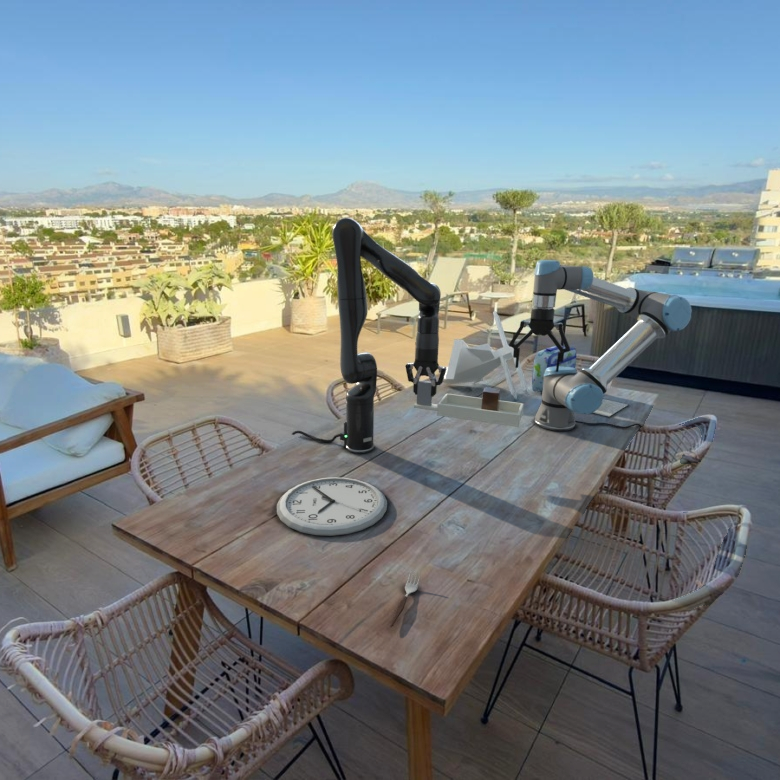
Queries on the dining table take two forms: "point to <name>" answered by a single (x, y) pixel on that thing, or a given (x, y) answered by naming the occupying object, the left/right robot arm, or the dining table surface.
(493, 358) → the white plastic object
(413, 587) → the fork
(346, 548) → the dining table surface
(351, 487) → the wall clock
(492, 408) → the walnut block
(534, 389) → the lunch box
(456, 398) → the tray
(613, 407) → the invitation card
